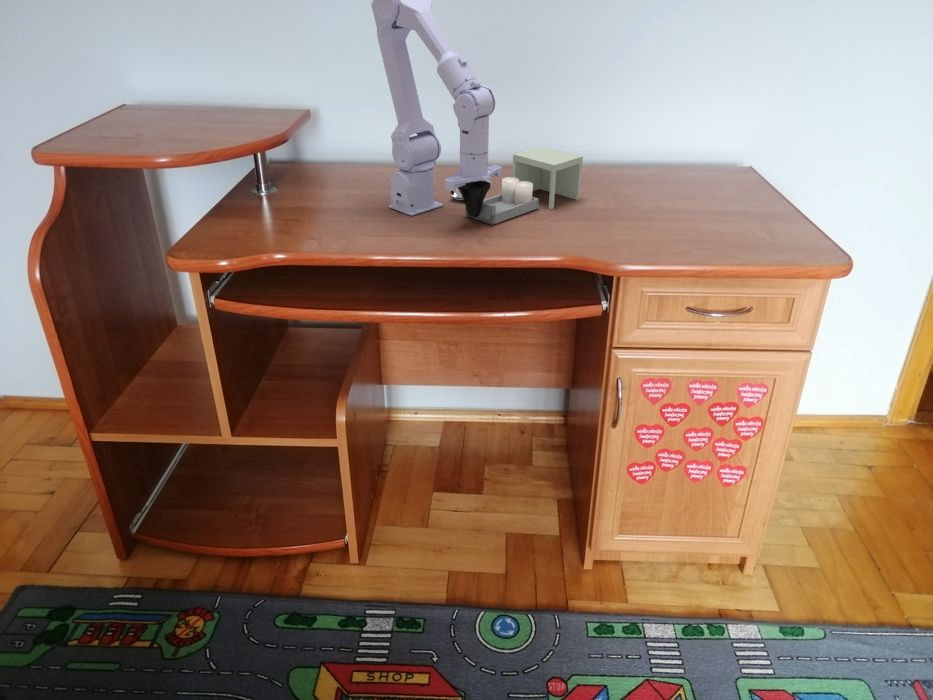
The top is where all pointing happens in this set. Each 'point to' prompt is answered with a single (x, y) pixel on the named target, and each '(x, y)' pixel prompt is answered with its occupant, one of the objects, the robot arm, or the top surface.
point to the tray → (502, 210)
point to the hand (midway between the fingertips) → (473, 215)
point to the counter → (549, 171)
